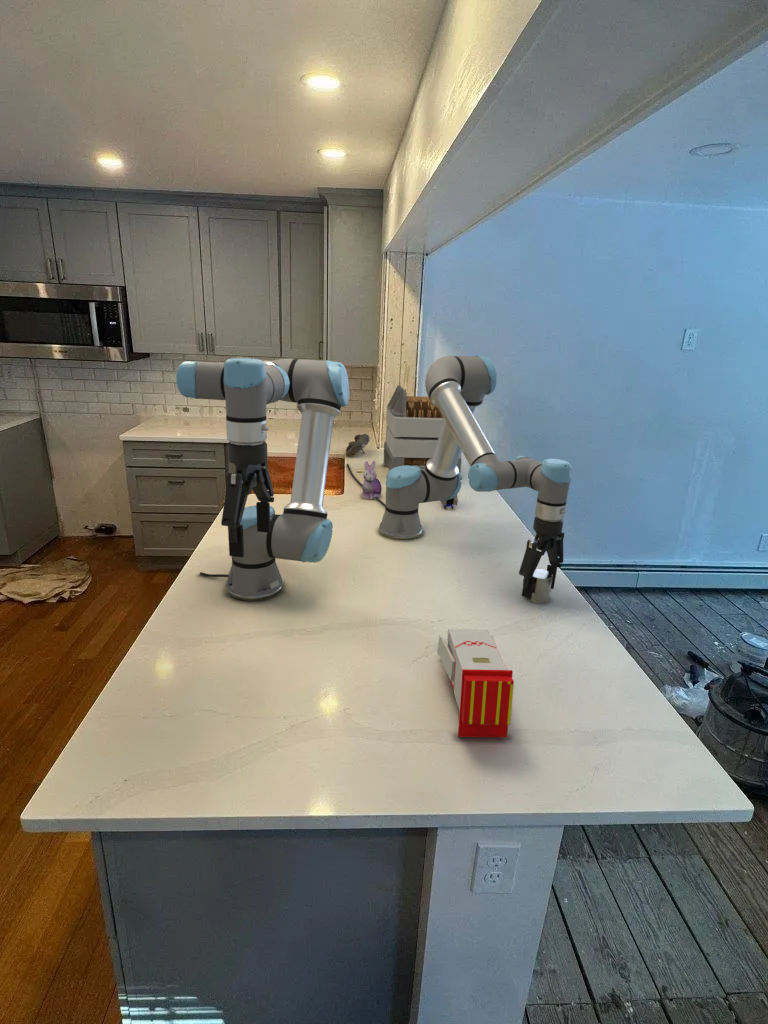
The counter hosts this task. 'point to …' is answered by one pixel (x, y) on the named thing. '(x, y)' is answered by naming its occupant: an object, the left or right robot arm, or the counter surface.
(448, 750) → the counter surface
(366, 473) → the figurine
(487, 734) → the toy
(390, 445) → the grey slatted crate
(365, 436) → the fossil
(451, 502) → the figurine character
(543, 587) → the tin
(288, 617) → the counter surface
